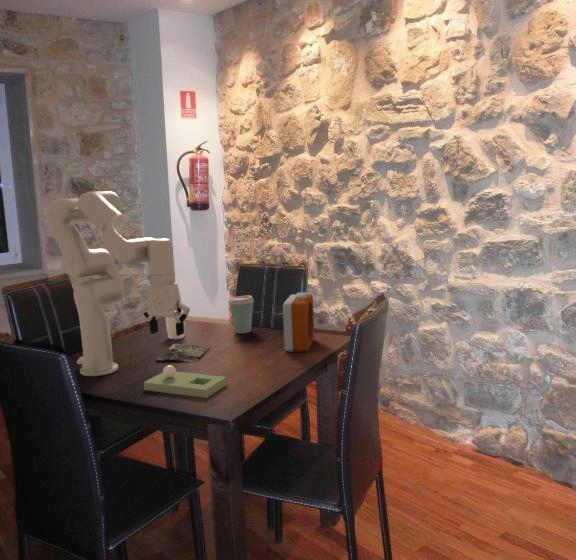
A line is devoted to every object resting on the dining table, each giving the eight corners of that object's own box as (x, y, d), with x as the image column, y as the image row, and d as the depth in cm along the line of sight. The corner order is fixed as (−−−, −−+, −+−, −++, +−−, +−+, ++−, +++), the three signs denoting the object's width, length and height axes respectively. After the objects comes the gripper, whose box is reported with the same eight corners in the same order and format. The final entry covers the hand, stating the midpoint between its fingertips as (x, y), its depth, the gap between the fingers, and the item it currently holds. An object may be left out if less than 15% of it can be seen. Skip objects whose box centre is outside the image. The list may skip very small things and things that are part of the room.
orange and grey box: (308, 352, 213) (306, 297, 210) (284, 352, 215) (282, 297, 211) (314, 339, 231) (312, 288, 228) (292, 339, 233) (290, 288, 229)
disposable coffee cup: (231, 335, 242) (229, 300, 239) (229, 329, 252) (227, 295, 250) (257, 333, 244) (255, 298, 241) (253, 327, 254) (251, 293, 252)
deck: (144, 389, 181) (143, 382, 181) (167, 377, 192) (166, 370, 191) (206, 398, 172) (206, 389, 171) (226, 384, 183) (226, 377, 182)
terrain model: (196, 364, 207) (196, 355, 207) (156, 364, 209) (155, 356, 209) (212, 348, 227) (211, 340, 226) (174, 348, 229) (174, 340, 229)
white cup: (180, 340, 239) (178, 316, 237) (163, 339, 241) (161, 315, 239) (189, 335, 246) (187, 311, 244) (172, 334, 248) (170, 311, 247)
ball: (160, 379, 183) (159, 366, 182) (168, 375, 186) (167, 363, 186) (171, 380, 181) (170, 368, 180) (178, 376, 185) (177, 364, 184)
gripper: (131, 280, 179) (137, 335, 181) (179, 281, 172) (183, 338, 174) (147, 276, 185) (151, 329, 188) (193, 277, 178) (197, 332, 181)
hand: (167, 333), depth 181 cm, fingers open, 9 cm apart
